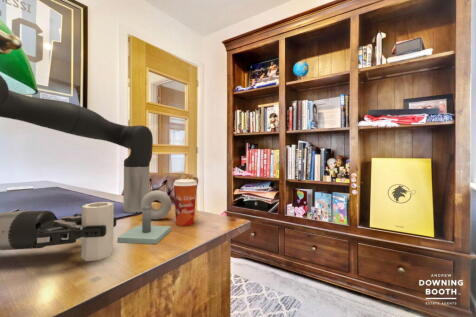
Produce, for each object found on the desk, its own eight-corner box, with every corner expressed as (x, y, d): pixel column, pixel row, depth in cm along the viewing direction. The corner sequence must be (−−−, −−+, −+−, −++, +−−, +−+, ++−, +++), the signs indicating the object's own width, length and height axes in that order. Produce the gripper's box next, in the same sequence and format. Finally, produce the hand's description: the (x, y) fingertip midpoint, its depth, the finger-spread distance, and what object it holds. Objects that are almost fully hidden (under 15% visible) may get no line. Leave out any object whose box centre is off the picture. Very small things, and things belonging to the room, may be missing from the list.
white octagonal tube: (89, 250, 50) (90, 202, 50) (115, 248, 51) (116, 201, 51) (77, 261, 45) (77, 208, 45) (106, 259, 46) (107, 207, 46)
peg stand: (138, 229, 65) (138, 201, 65) (171, 230, 64) (171, 202, 64) (117, 242, 55) (117, 209, 55) (156, 244, 54) (156, 210, 54)
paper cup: (172, 228, 66) (172, 181, 66) (172, 220, 74) (173, 179, 74) (198, 226, 69) (199, 181, 68) (196, 219, 76) (197, 178, 76)
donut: (172, 217, 77) (172, 189, 77) (170, 220, 74) (170, 191, 74) (142, 218, 76) (142, 189, 76) (139, 221, 73) (139, 191, 72)
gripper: (-11, 222, 38) (97, 218, 41) (44, 204, 52) (121, 202, 56) (-11, 265, 38) (96, 257, 42) (44, 235, 52) (121, 231, 56)
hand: (110, 226), depth 48 cm, fingers closed on white octagonal tube, 5 cm apart
